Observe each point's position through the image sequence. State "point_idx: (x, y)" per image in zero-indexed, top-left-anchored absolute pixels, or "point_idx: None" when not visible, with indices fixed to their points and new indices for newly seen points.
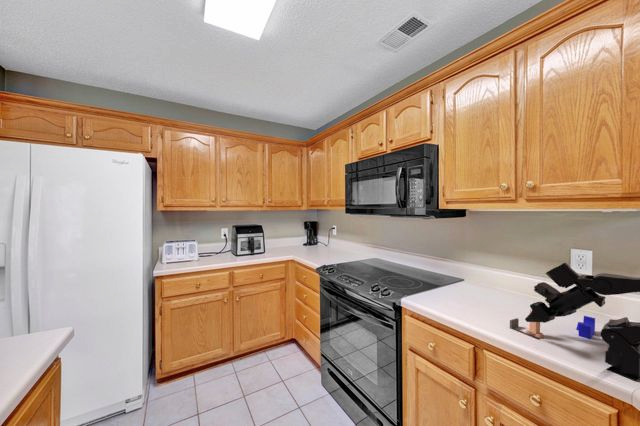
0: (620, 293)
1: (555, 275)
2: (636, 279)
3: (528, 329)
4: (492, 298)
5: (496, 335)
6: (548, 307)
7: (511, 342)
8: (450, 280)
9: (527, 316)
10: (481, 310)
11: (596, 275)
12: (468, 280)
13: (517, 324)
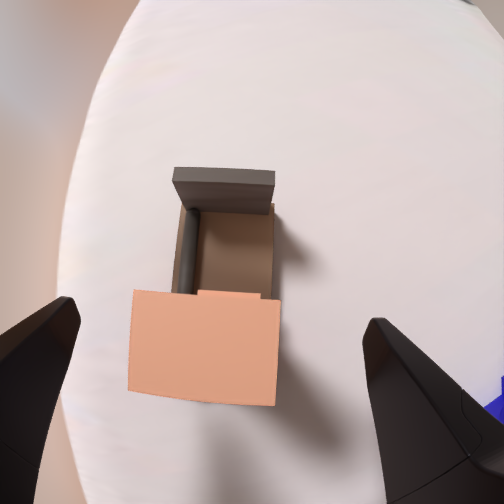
0: None
1: None
2: None
3: (229, 292)
4: (470, 54)
5: (76, 203)
6: (456, 442)
7: (59, 284)
8: None
9: (17, 324)
10: (331, 40)
11: None
12: (480, 12)
13: (257, 204)
